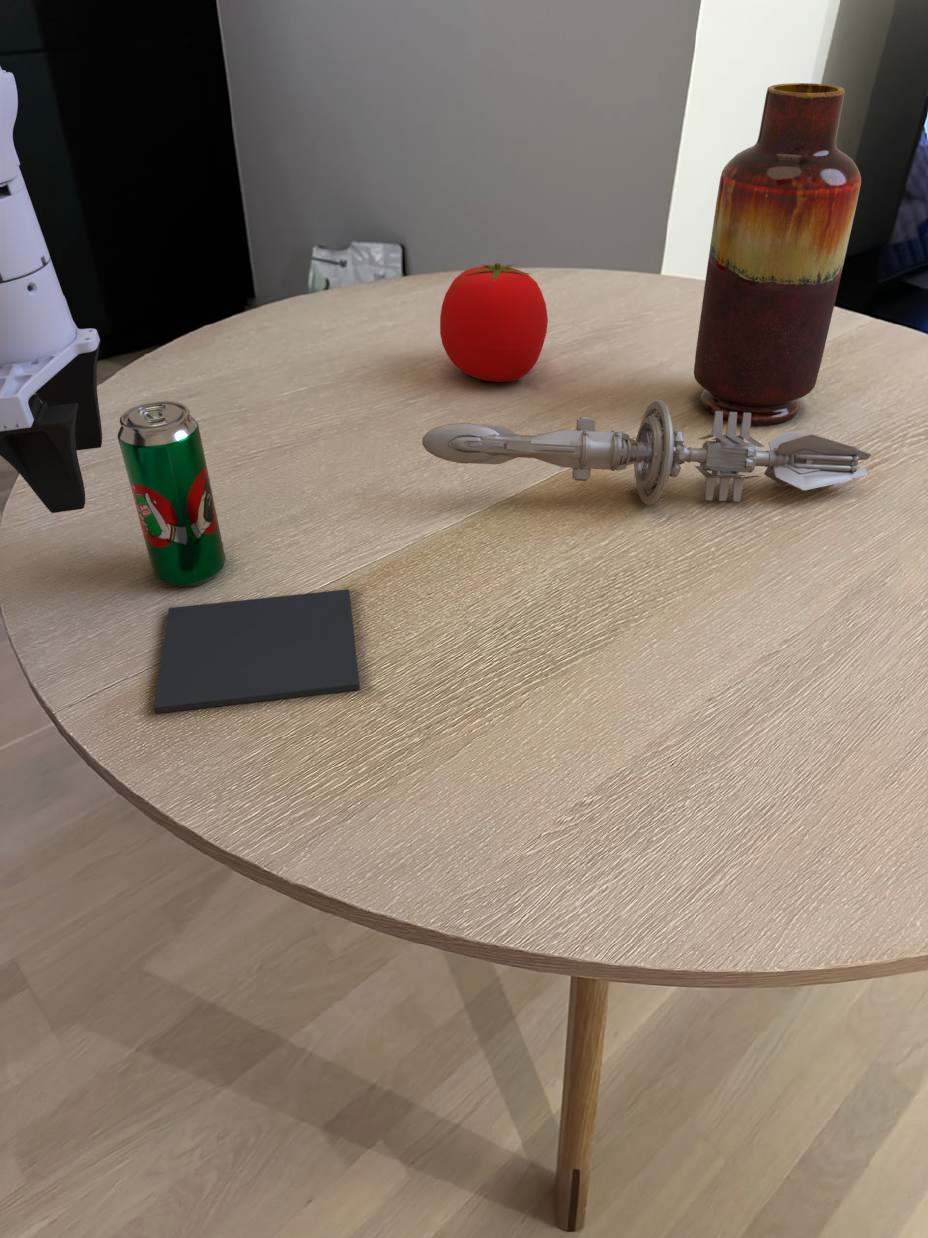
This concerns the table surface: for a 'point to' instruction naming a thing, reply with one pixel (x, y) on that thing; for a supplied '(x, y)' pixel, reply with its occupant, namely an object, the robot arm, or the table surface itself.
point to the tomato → (493, 322)
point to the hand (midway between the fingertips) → (77, 476)
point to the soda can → (172, 492)
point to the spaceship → (658, 453)
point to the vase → (776, 258)
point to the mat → (257, 651)
